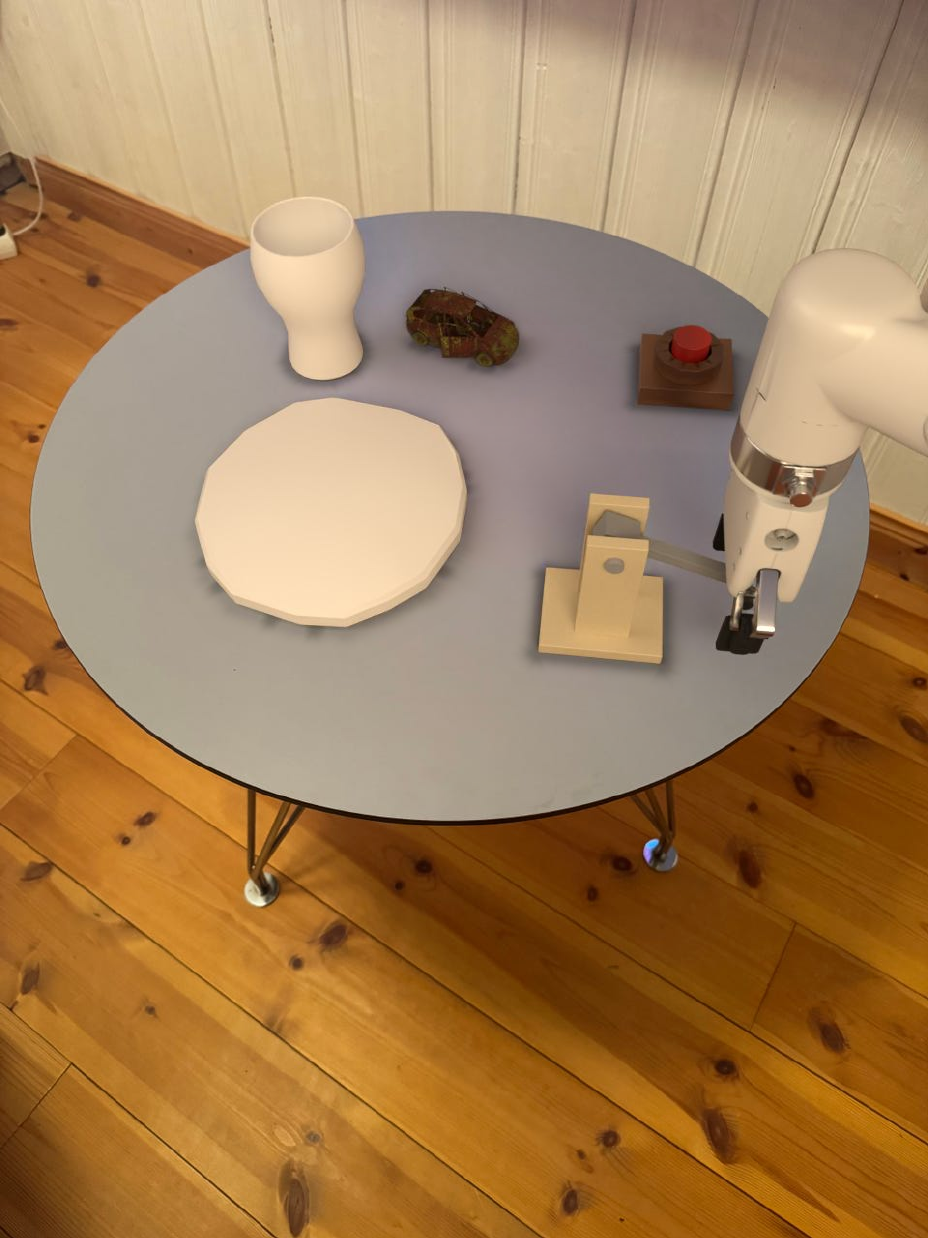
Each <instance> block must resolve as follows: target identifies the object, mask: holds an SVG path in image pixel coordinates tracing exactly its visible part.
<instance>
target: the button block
mask: <svg viewBox="0 0 928 1238" xmlns="http://www.w3.org/2000/svg"><path fill="white" fill-rule="evenodd" d="M683 326H684V325H682V326H681V325H680V326H678V327H674V328H671V329H668V330H665V331H664V333H662V334H658V333H657V334H656V333H641V337H640V344H639V350H638V377H637V378H638V379H637V405H646V406H660V407H661V406H662V407H673V408H674V407H675V408H687V409H688V408H689V409H690V408H691V409H702V410H703V409H705V410H716V411H717V410H718V411H730V410H731V406H732V403H733V399H734V396H735V383H734V365H733V363H734V362H733V343H732V338H721V337H720V338H719V337H717V336H716V335H715V334H714V333H712V332H711V331H708V332H709V333H710V335H711V344H710V348H709V352H708V356H707V357H706V358H705V359H704V360H703V361H701V362H698V363H685V362H683V361H681V360H678V359H676V358H675V357H674V356H673V354H672V352H671V347H672V342H673V337H674V333H675V332H676V330H677V329H679V328H680V327H683Z"/></svg>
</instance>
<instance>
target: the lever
mask: <svg viewBox="0 0 928 1238" xmlns="http://www.w3.org/2000/svg"><path fill="white" fill-rule="evenodd" d="M593 536H606V537H618V538H630V539H642V540H649V551H648V555H647V559H652V560H654V561H657V562H661V563H664V564H667V565H670V566H673V567H676V568H679V569H681V570H685V571H688V572H690V573H692V574H693V573H694V574H697V575H700V576H703V577H706V578H709V579H712V580H715V581H718V582H721V583H723V584H726V585H727V582H726V566H725V562H723V561H719V560H717V559H713V558H711V557H708V556H705V555H703V554H698V553H696V552H693V551H690V550H687V549H685V548H681V547H678V546H676V545H672V544H669V543H666V542H663V541H660V540H657V539H655V538H652V537H648V536H646V535H644V534H643V535H640V522H639V521H636V520H633V519H630V518H627V517H624V516H621V515H618V514H615V513H613V512H610V511H606V513H605V514H604V515H603V517H602V518H601V519H600V520H599V522H598V523H597V524H596V525H595V527H594V528H593ZM753 585H754V584H753ZM753 585H752V586H751V587H754V586H753ZM754 605H755V599H754V598H744V602H743V609H742V611H750V610H752V609H754Z"/></svg>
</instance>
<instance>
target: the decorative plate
mask: <svg viewBox="0 0 928 1238" xmlns="http://www.w3.org/2000/svg"><path fill="white" fill-rule="evenodd" d="M205 471H206V472H205V475H204V480H203V484H202V488H201V493H200V497H199V501H198V505H197V509H196V513H195V517H194V524H195V528H196V532H197V536H198V539H199V542H200V546H201V550H202V554H203V557H204V562H205V565H206V568H207V570H208V572H209V574H210V575H211V577H212V578H213V579H214V581H216V583H218V585H219V586H220V587H221V588H222V589H223V590H224V592H225V593H226V594H227V595H228V596H229V597H230V598H231V600H232V601H233V602H234V603H235V604H237V605H240V606H243V607H245V608H249V609H252V610H256V611H257V612H261V613H264V614H267V615H270V616H272V617H276V618H278V619H282V620H285V621H288V622H291V623H294V624H296V625H301V626H302V625H305V626H321V627H338V628H347V627H350V626H352V625H355V624H357V623H360V622H362V621H365V620H367V619H370V618H372V617H375V616H378V615H380V614H383V613H385V612H388V611H390V610H391V609H393V608H395V607H397V606H398V605H400V604H402V603H404V602H405V601H407V600H409V599H410V598H412V597H414V596H415V595H417V594H419V593H420V592H422V591H424V590H425V589H427V588H428V587H429V585H430V584H431V582H433V580H434V579H435V577H436V575H437V574H438V573H439V571H440V570H441V569H442V567H443V566H444V564H445V563H446V562H447V560H448V559H449V558H450V556H451V555H452V554H453V552H454V550H455V549H456V547H457V546H458V544H459V543H460V542H461V539H462V533H463V527H464V521H465V515H466V508H467V504H468V503H467V502H468V491H467V490H468V488H467V484H466V479H465V475H464V471H463V467H462V462H461V456H460V454H459V451H457V449H456V447H455V446H454V445H453V443H452V441H451V440H450V439H449V437H448V435H447V434H446V432H445V431H444V430H443V428H442V426H440V424H437V423H435V422H432V421H429V420H426V419H424V418H421V417H419V416H417V415H413V414H412V413H408V412H406V411H404V410H401V409H396V408H391V407H386V406H381V405H376V404H370V403H366V402H360V401H356V400H350V399H346V398H345V399H344V398H339V397H326V398H319V399H309V400H304V401H303V400H302V401H297V402H296V401H295V402H293V403H292V404H290V405H288V406H286V407H284V408H283V409H281V410H279V411H277V412H276V413H273V414H272V415H270V416H269V417H267V418H264V419H263V420H261V421H259V422H258V423H256V424H254V425H252V426H250V427H249V428H247V429H245V430H244V431H243V432H242V433H241V434H240V435H239V436H238V437H237V438H236V439H235V440H234V441H233V443H231V445H229V446H228V447H227V448H226V450H224V452H223V453H222V454H221V455H220V456H219V457H218V458H217V459H215V461H214V462H213V463H212V464H211V465H209V467H208V468H207V469H206V470H205Z"/></svg>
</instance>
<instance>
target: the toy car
mask: <svg viewBox="0 0 928 1238" xmlns="http://www.w3.org/2000/svg"><path fill="white" fill-rule="evenodd" d="M443 288H444V289H437V288H426V289H425V288H424V289H423V290H422V292H421V294H420V295H419V296H418V297H417V298H416V299H415V301H413V303H412V304H411V305H410V306H409V307H408V309H407V310H406V312H405V317H406V319H405V320H406V322H405V326H406V330H407V332H408V333H409V335H410V336H411V337H412V338H413V340H414V342H415V343H416V344H417V345H418V346H420V347H421V346H422V347H424V346H425V347H426V345H427V344H429V345H430V346H434V347H436V348H440V349H441V355H442V358H443V359H452V358H453V359H454V358H455V359H456V358H457V359H458V358H471V359H473V360H476V361H477V363H478V364H479V365H480V366H482V367H487V368H488V367H491V366H492V364H493V365H494V366H497V367H498V366H501V365H503V364H506V363H507V362H508V361H509V360H511V358H512V357H513V356H514V354H515V353H516V351H517V349H518V348H519V344H520V332H519V329H518V327H516V323H515V322H514V321H513V320H512V319H510V318H508V317H506V316H505V315H502V314H501V313H497V312H495V311H494V310H492V309H490V307H488V306H487V305H486V304H483V302H481V301H480V300H478V299H476V298H474V297H472V296H471V295H469V294H467V293H465V292H463V291H460V293H459V292H457V291H455V290H453V289H450V288H449V287H446V286H443ZM477 303H480V305H482V306H480V305H479V304H477Z"/></svg>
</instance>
